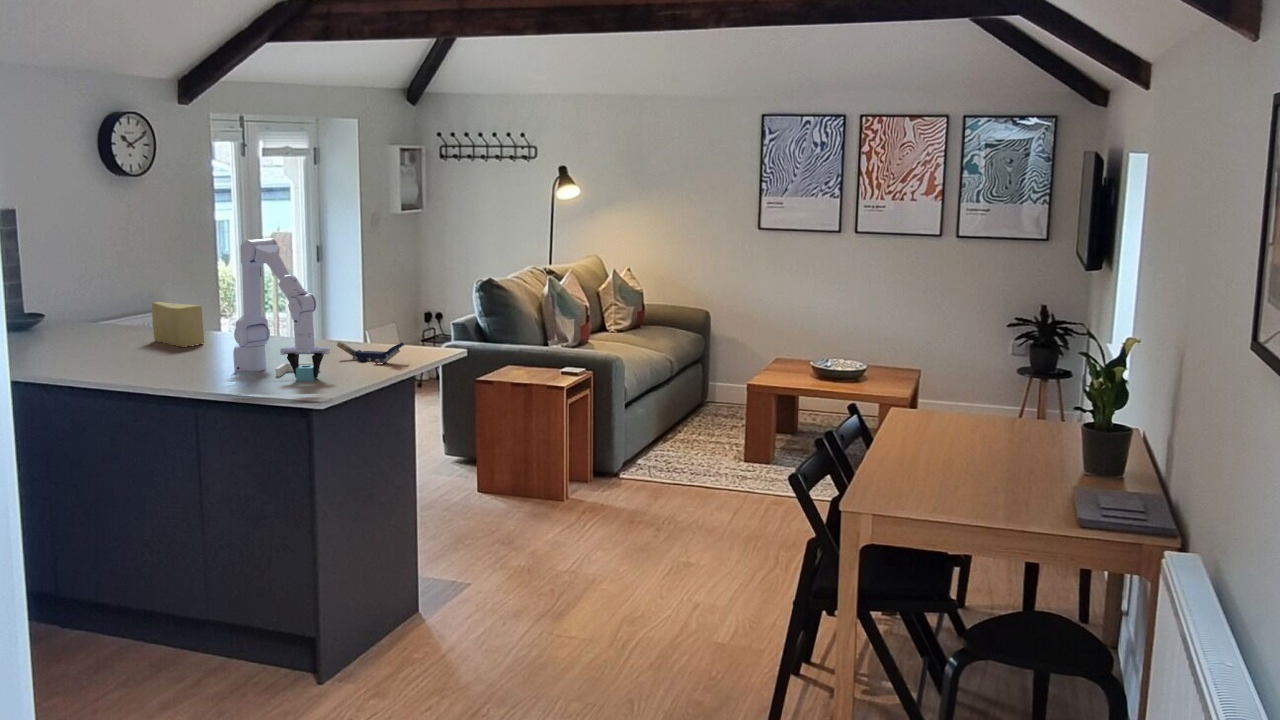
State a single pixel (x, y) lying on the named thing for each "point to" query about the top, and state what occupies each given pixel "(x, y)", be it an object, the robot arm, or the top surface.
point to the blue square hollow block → (305, 373)
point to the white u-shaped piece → (287, 368)
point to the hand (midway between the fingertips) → (306, 377)
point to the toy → (371, 353)
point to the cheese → (177, 323)
